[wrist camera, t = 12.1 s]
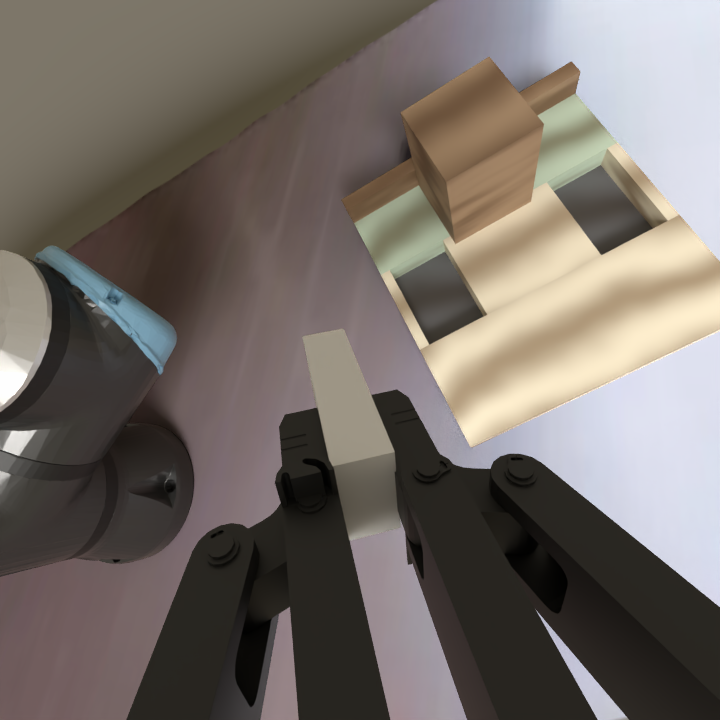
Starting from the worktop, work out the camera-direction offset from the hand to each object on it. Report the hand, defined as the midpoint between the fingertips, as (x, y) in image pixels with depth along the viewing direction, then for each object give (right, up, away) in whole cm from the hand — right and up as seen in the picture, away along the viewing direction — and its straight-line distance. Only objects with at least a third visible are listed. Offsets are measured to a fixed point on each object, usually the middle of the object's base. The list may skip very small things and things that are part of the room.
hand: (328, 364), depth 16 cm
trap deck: (+17, +10, +27) cm, 33 cm away
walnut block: (+12, +17, +27) cm, 34 cm away
